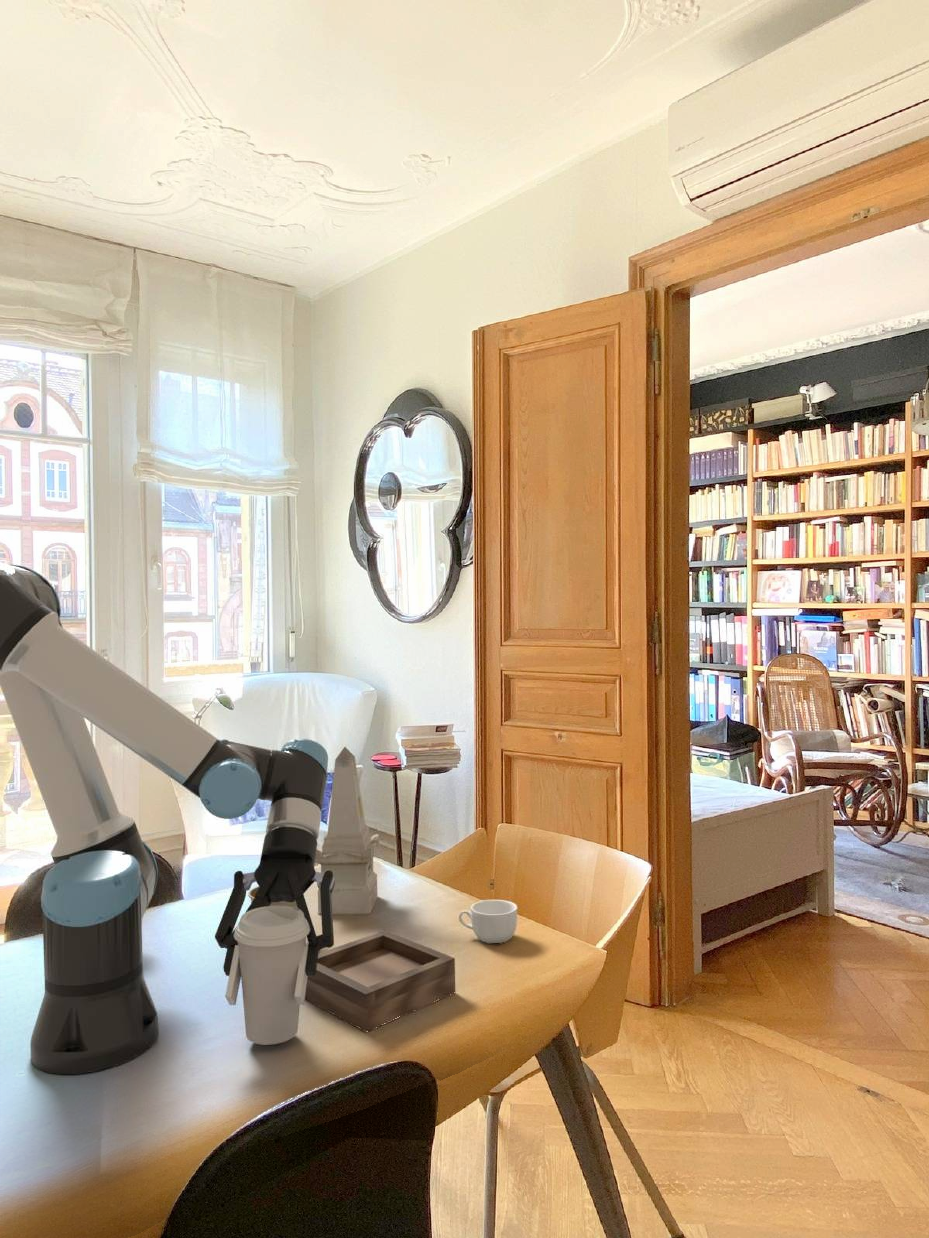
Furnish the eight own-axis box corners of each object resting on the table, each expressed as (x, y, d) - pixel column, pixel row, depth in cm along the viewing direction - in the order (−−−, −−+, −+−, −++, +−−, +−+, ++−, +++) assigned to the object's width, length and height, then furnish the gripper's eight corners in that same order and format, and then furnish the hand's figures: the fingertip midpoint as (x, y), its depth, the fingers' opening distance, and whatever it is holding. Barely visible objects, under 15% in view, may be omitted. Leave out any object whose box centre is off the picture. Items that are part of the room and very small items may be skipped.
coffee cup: (316, 1042, 107) (317, 923, 107) (238, 1056, 104) (238, 933, 104) (302, 1009, 116) (302, 899, 116) (229, 1021, 113) (229, 908, 113)
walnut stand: (366, 1032, 112) (365, 994, 112) (298, 995, 123) (297, 960, 123) (455, 992, 123) (454, 957, 123) (385, 961, 135) (384, 930, 135)
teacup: (522, 932, 146) (521, 900, 146) (513, 949, 138) (512, 916, 138) (465, 928, 148) (464, 897, 148) (453, 945, 141) (452, 912, 141)
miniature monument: (372, 914, 156) (368, 750, 156) (315, 915, 157) (311, 751, 156) (380, 895, 167) (376, 741, 166) (326, 896, 167) (323, 742, 167)
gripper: (366, 850, 125) (351, 1011, 109) (225, 851, 126) (189, 1012, 110) (360, 823, 120) (344, 988, 104) (213, 824, 120) (174, 988, 104)
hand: (264, 1000), depth 107 cm, fingers closed on coffee cup, 8 cm apart
